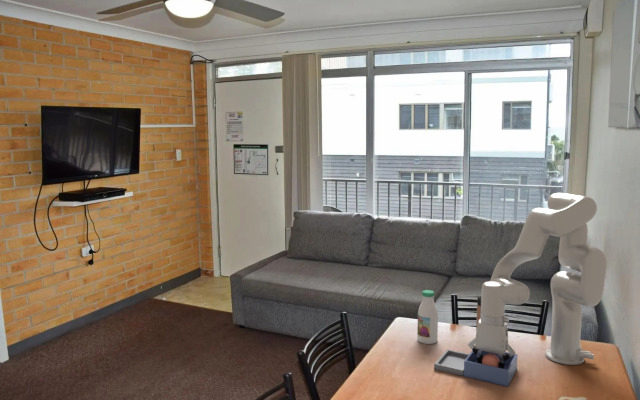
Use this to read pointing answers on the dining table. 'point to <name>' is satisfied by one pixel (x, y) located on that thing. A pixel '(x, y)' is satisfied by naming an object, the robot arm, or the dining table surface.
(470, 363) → the blue storage bin
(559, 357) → the robot arm
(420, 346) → the dining table surface
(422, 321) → the milk bottle
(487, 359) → the ball
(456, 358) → the tray
